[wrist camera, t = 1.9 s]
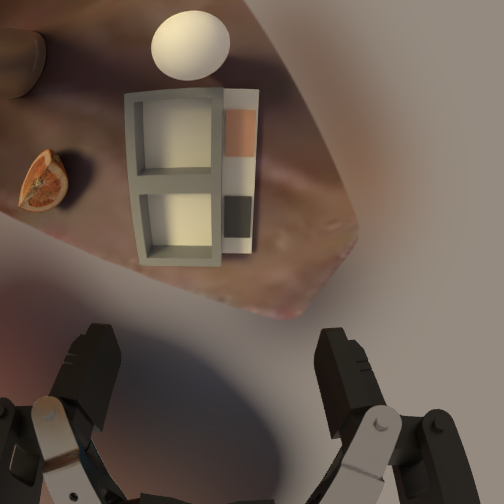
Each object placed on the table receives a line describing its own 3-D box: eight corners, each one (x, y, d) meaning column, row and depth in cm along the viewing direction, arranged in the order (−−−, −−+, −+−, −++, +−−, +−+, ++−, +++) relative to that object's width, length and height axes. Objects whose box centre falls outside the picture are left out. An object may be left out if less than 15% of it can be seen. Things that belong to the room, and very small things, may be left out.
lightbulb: (223, 26, 23) (217, -9, 13) (237, 76, 26) (239, 63, 16) (166, 43, 23) (133, 19, 14) (181, 92, 26) (153, 90, 17)
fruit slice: (59, 133, 27) (36, 141, 23) (89, 173, 30) (69, 186, 26) (26, 177, 29) (4, 189, 25) (53, 213, 32) (34, 229, 28)
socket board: (147, 249, 35) (139, 265, 32) (136, 93, 26) (124, 93, 23) (251, 250, 36) (252, 266, 33) (258, 89, 27) (261, 88, 24)
